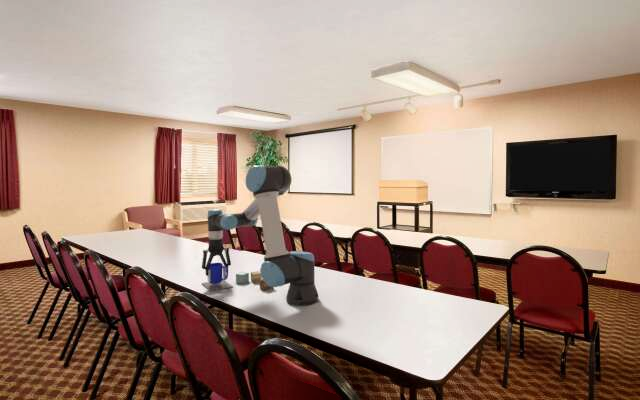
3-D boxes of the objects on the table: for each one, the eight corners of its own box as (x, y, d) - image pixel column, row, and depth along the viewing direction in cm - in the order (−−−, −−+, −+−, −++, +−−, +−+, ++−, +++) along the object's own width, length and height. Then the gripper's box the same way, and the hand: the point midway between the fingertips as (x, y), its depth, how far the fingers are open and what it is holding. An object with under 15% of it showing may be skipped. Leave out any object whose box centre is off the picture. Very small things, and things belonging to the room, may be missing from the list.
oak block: (261, 281, 201) (261, 273, 201) (252, 283, 199) (252, 274, 199) (259, 279, 206) (259, 271, 205) (250, 280, 204) (250, 272, 203)
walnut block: (273, 288, 189) (273, 279, 188) (266, 290, 185) (265, 281, 185) (267, 286, 192) (266, 277, 192) (259, 288, 188) (259, 279, 188)
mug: (224, 285, 189) (223, 267, 188) (204, 284, 192) (203, 266, 191) (232, 280, 197) (231, 263, 196) (213, 280, 200) (212, 262, 199)
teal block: (248, 281, 202) (248, 272, 202) (243, 283, 198) (243, 274, 197) (241, 280, 204) (241, 271, 204) (236, 282, 200) (235, 274, 200)
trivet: (233, 287, 191) (232, 286, 191) (210, 291, 184) (210, 290, 184) (223, 280, 204) (223, 279, 204) (201, 284, 198) (201, 283, 198)
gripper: (232, 235, 201) (233, 275, 203) (194, 239, 190) (195, 281, 191) (236, 237, 195) (237, 278, 196) (197, 241, 184) (199, 284, 185)
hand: (217, 279), depth 194 cm, fingers closed on mug, 8 cm apart
